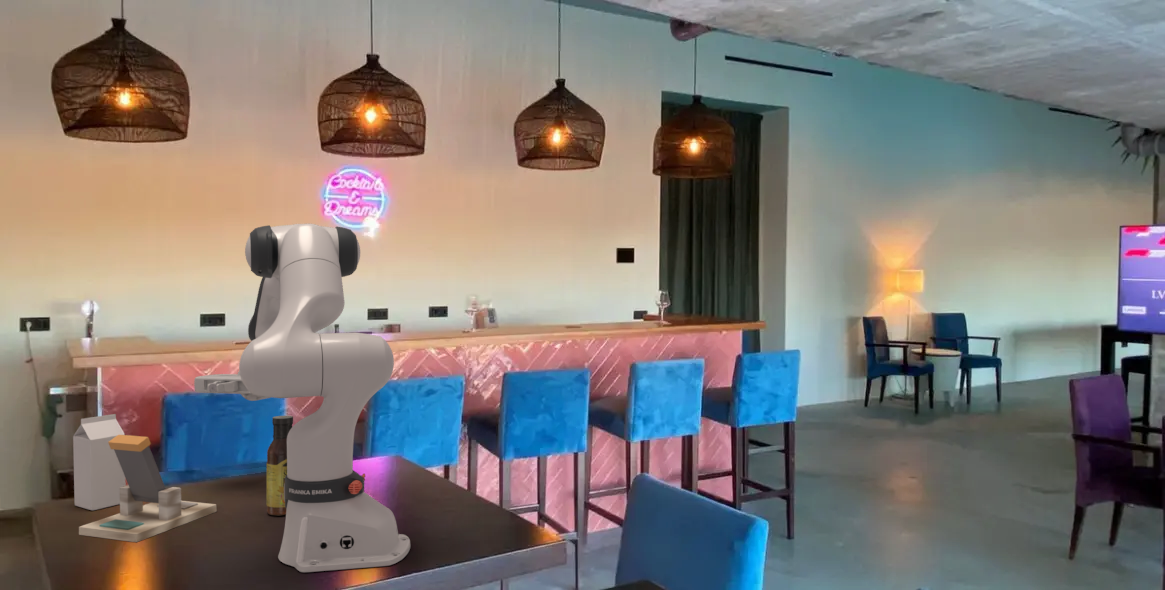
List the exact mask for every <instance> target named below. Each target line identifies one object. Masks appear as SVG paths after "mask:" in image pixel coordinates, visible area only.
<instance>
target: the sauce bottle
mask: <svg viewBox="0 0 1165 590" xmlns="http://www.w3.org/2000/svg"><path fill="white" fill-rule="evenodd" d="M271 422H272V428H273V434H272V441H271V443H270V444H269V446H268V448H267V451H266V455H267V457H266V460H267V461H266V491H265V493H266V496H265V497H266V498H265V499H266V501H265V502H266V503H265V504H266V507H267V508H266V510H267V511H266V512H267V514H268V515H270V516H277V517H279V516H286V509H287V508H286V507H285V501H284V484H285V476H286V475H287V436H288V433H289V431H290V429H291V428H292V427H293V425H294V416H292V415H278V416H277V415H276V416H273V417H272V421H271Z"/></svg>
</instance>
